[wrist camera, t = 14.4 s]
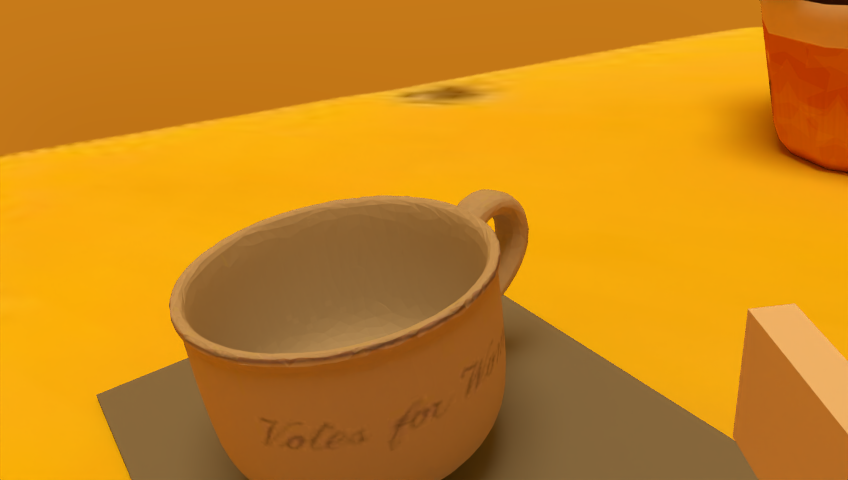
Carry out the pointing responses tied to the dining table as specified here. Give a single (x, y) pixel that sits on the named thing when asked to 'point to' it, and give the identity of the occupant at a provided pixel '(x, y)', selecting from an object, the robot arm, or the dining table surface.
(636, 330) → the dining table surface
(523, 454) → the placemat
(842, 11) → the bucket of meat
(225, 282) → the teacup
